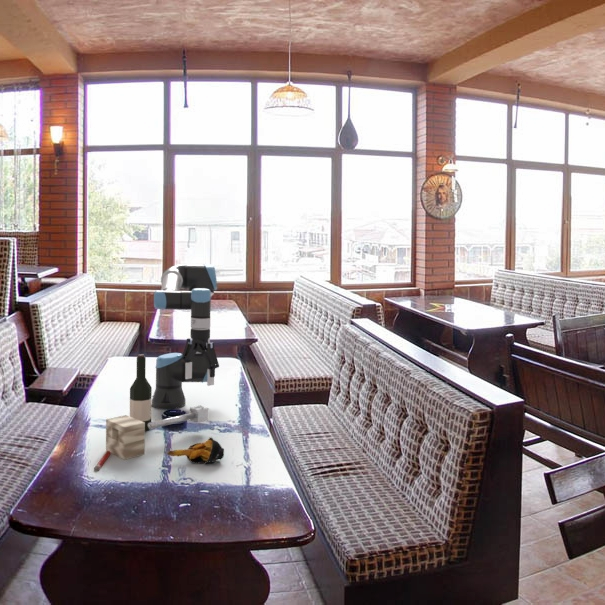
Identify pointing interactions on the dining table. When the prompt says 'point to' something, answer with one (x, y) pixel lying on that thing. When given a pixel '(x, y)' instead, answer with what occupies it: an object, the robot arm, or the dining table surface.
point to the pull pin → (183, 417)
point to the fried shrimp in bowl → (201, 452)
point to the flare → (102, 461)
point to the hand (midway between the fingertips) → (199, 381)
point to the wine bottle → (141, 395)
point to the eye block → (125, 437)
